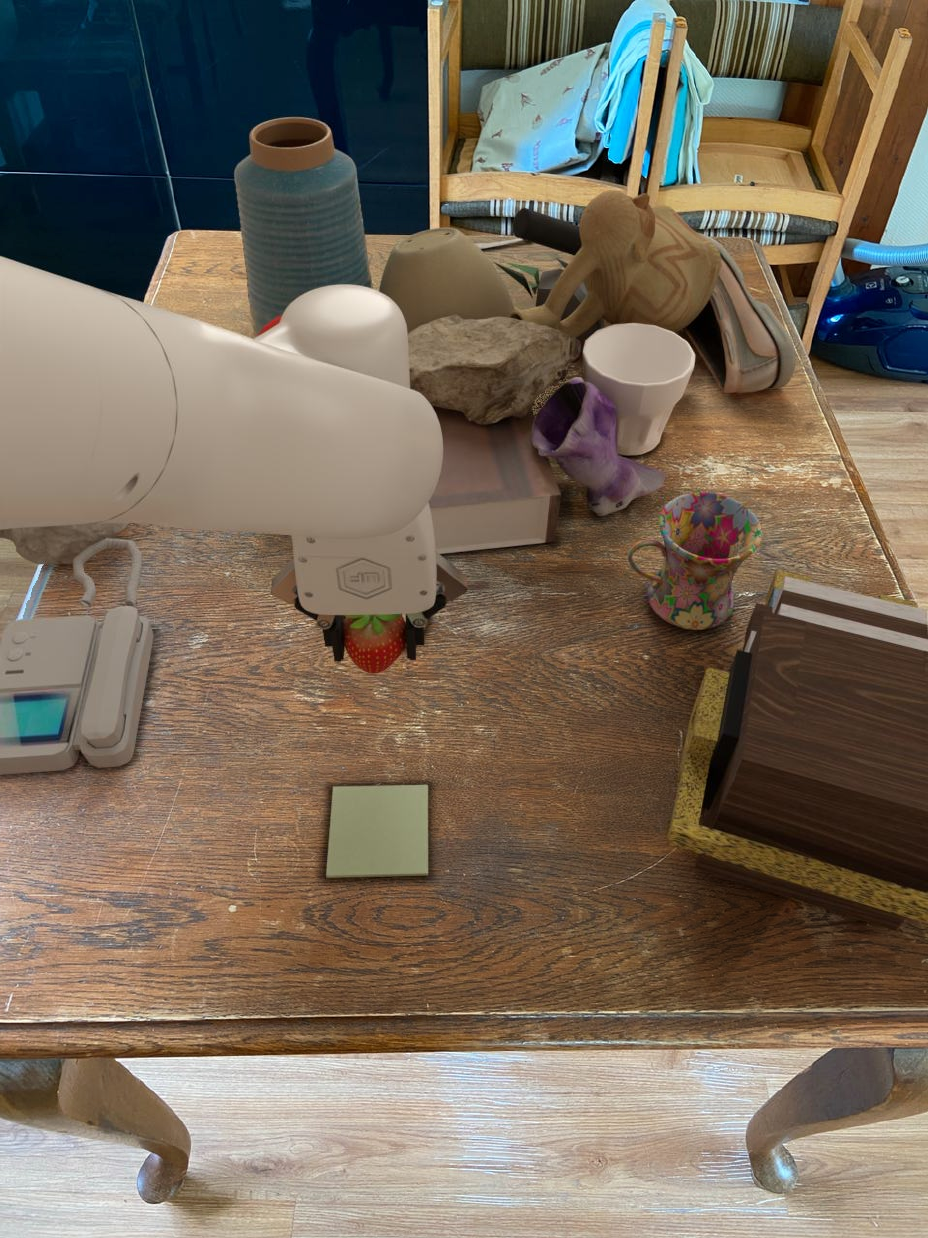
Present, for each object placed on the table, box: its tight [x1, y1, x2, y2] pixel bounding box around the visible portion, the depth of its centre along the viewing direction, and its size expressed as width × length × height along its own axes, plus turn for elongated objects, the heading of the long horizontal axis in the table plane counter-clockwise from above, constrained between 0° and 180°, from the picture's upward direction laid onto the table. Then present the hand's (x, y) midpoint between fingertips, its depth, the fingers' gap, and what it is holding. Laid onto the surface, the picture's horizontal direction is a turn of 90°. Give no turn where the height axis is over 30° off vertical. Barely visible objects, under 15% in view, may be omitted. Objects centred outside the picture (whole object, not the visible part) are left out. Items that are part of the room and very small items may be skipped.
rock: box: [408, 314, 581, 426], centre depth 101 cm, size 16×10×20 cm
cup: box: [582, 323, 696, 456], centre depth 104 cm, size 12×12×11 cm
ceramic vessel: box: [509, 189, 722, 338], centre depth 109 cm, size 17×20×25 cm
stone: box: [0, 523, 131, 565], centre depth 94 cm, size 17×17×15 cm
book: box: [429, 405, 562, 555], centre depth 101 cm, size 24×28×6 cm
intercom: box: [0, 538, 155, 775], centre depth 84 cm, size 13×4×25 cm
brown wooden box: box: [666, 568, 928, 932], centre depth 72 cm, size 21×15×30 cm
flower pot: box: [378, 227, 515, 334], centre depth 115 cm, size 18×18×12 cm
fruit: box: [343, 614, 406, 675], centre depth 73 cm, size 5×5×8 cm
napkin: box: [325, 784, 429, 879], centre depth 74 cm, size 8×8×1 cm
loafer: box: [680, 232, 797, 394], centre depth 118 cm, size 11×30×9 cm
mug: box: [627, 491, 763, 631], centre depth 86 cm, size 12×9×11 cm
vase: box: [233, 116, 374, 339], centre depth 110 cm, size 16×16×27 cm
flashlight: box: [512, 207, 582, 257], centre depth 124 cm, size 5×24×5 cm
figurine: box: [532, 376, 666, 517], centre depth 98 cm, size 9×10×15 cm
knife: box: [473, 237, 530, 250], centre depth 139 cm, size 19×2×1 cm, turn 107°
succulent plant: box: [491, 257, 605, 353], centre depth 123 cm, size 16×20×9 cm
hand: (376, 646), depth 74 cm, fingers closed on fruit, 5 cm apart
